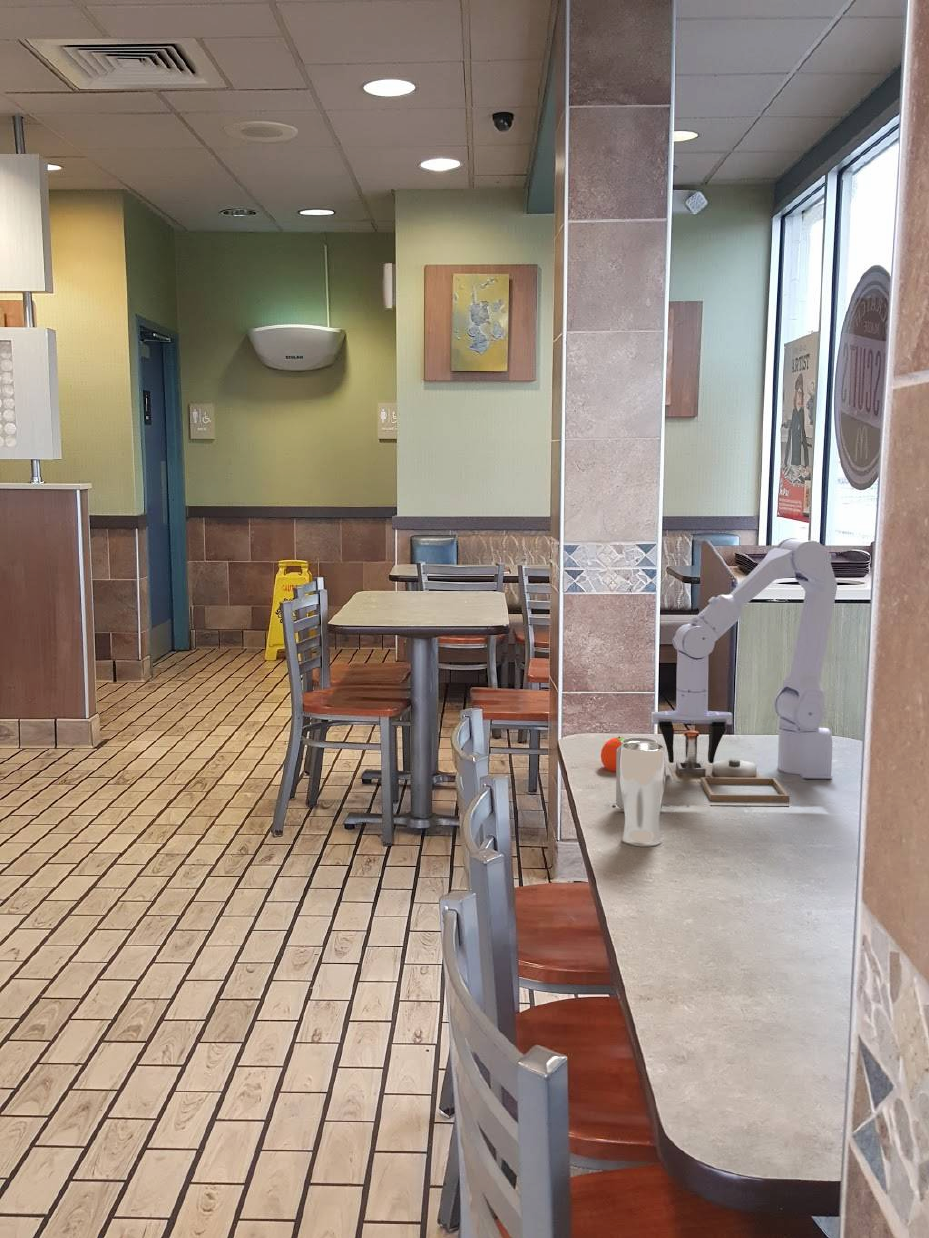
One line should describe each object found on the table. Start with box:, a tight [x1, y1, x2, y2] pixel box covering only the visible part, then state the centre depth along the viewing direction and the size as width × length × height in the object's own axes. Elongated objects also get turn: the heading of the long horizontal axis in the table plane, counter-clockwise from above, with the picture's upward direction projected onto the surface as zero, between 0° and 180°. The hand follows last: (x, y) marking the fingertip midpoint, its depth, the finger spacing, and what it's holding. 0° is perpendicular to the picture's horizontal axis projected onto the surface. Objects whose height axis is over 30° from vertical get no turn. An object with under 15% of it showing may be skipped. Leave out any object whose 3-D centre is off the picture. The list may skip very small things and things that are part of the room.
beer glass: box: [620, 741, 666, 848], centre depth 172 cm, size 7×7×15 cm
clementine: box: [600, 736, 626, 773], centre depth 212 cm, size 8×7×7 cm
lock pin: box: [683, 730, 700, 768], centre depth 208 cm, size 3×3×8 cm
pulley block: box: [667, 759, 763, 783], centre depth 208 cm, size 16×12×3 cm
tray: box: [700, 777, 790, 808], centre depth 196 cm, size 13×11×2 cm
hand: (690, 761), depth 208 cm, fingers open, 7 cm apart
